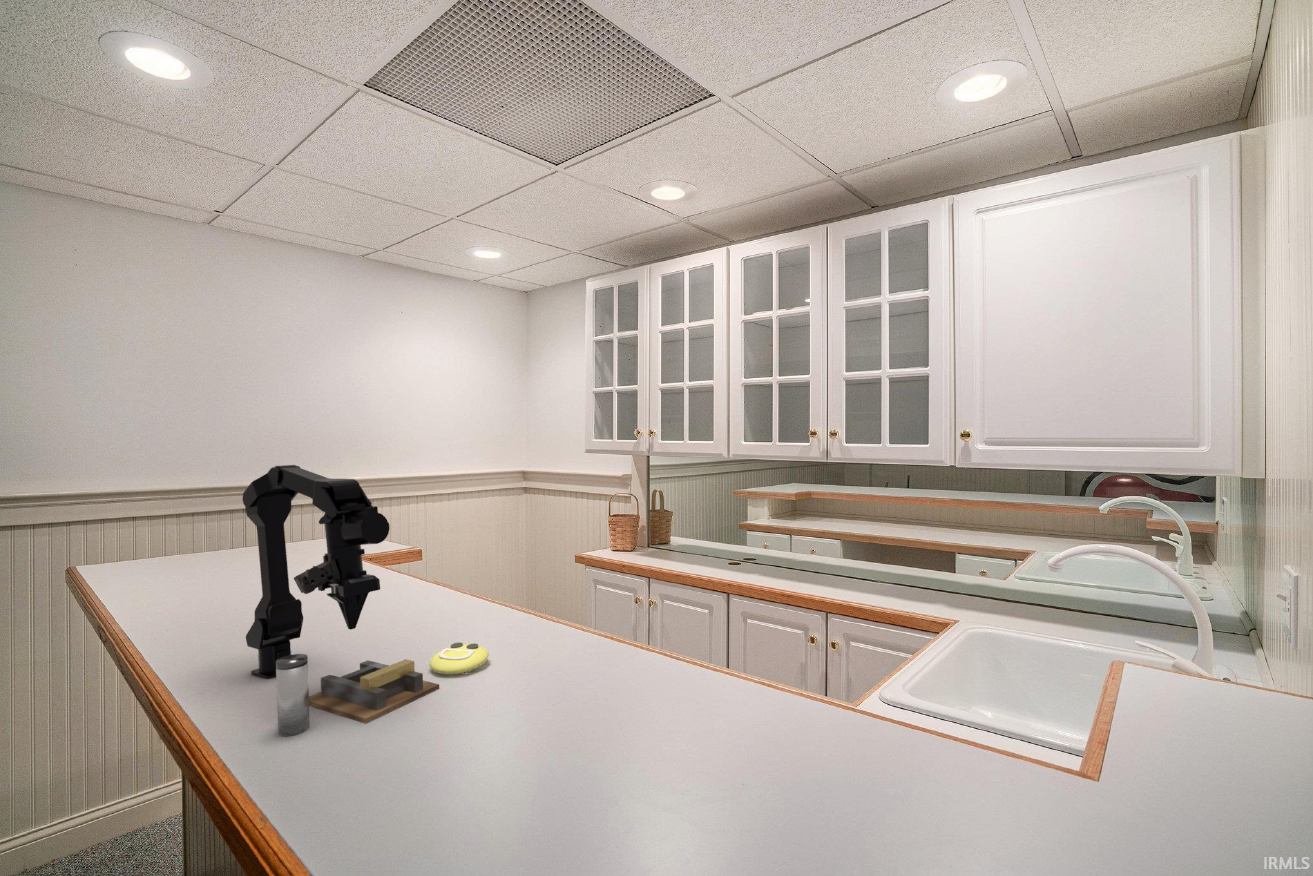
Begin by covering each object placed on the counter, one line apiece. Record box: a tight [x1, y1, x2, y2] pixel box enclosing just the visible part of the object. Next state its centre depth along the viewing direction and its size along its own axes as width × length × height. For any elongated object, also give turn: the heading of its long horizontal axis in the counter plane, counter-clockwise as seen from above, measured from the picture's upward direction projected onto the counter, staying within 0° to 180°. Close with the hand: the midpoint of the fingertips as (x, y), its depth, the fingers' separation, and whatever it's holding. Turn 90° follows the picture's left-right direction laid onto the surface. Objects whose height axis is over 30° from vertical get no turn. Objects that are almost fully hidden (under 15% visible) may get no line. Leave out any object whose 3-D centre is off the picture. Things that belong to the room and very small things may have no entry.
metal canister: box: [275, 653, 311, 737], centre depth 105 cm, size 5×5×12 cm
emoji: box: [428, 642, 490, 675], centre depth 132 cm, size 4×12×12 cm
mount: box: [309, 659, 440, 724], centre depth 118 cm, size 18×16×4 cm
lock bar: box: [360, 658, 416, 691], centre depth 116 cm, size 2×10×2 cm, turn 151°
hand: (351, 628), depth 118 cm, fingers closed
